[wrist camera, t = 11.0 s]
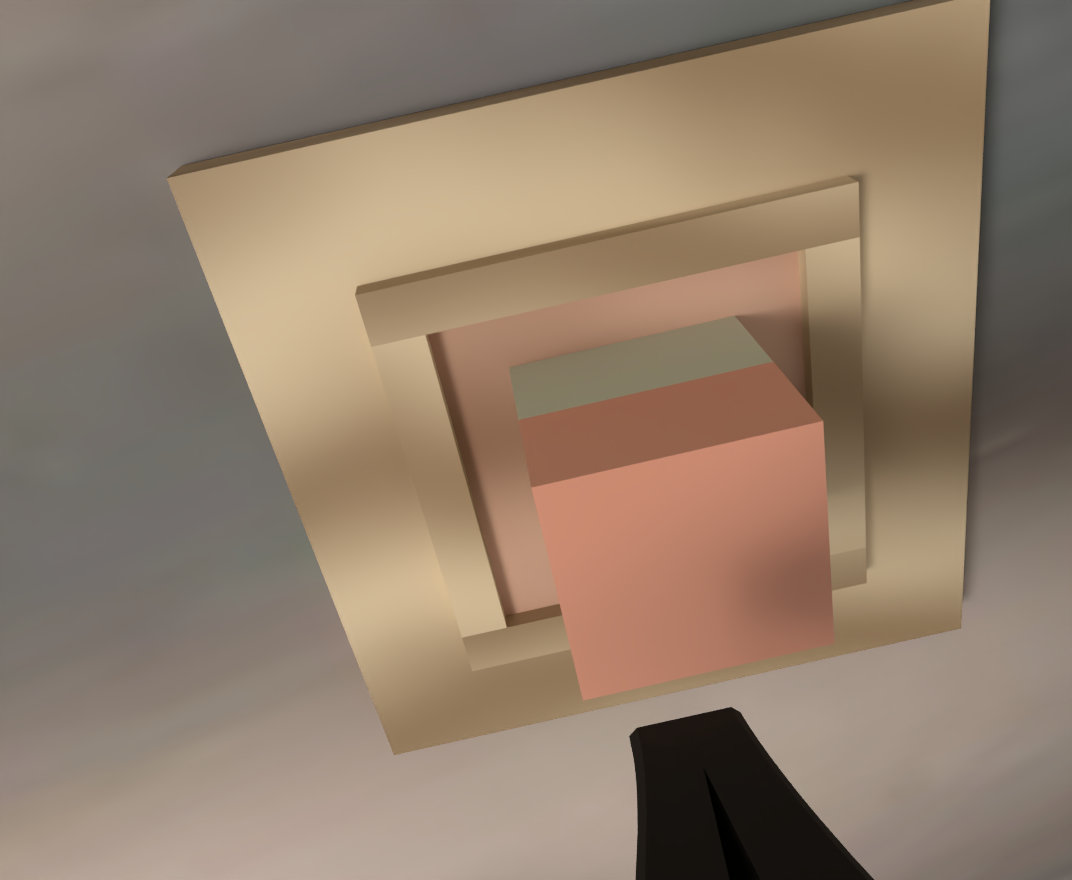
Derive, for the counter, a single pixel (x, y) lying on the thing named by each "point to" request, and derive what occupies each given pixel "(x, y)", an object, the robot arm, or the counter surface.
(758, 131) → the baseplate
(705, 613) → the brick stack
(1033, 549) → the counter surface
